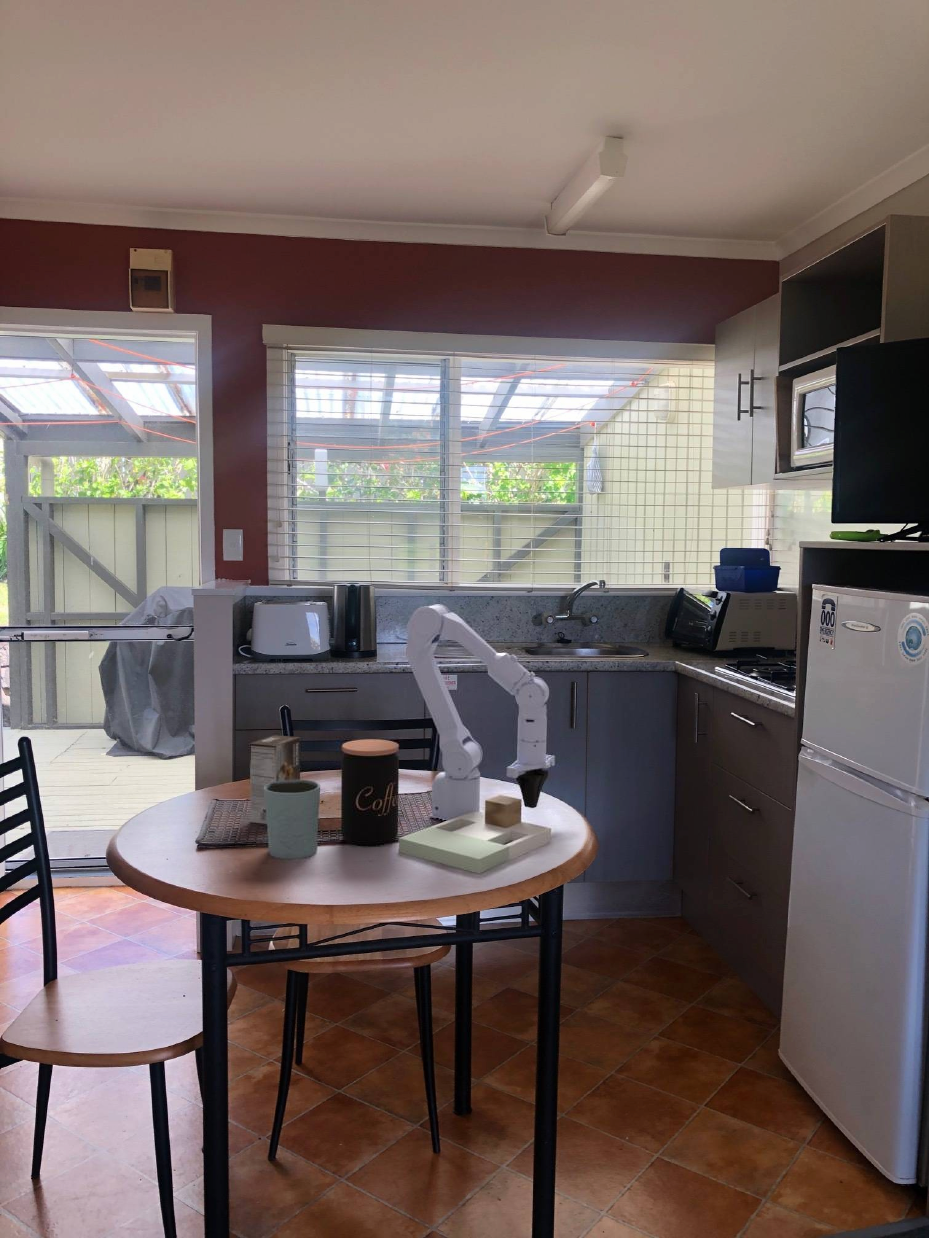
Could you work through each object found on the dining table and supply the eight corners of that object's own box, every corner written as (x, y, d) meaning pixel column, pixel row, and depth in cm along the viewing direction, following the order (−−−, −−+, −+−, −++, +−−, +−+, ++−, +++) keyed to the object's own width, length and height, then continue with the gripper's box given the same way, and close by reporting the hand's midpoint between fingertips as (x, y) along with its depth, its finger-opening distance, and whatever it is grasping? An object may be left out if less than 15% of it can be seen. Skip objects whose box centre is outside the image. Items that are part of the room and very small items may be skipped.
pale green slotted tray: (398, 851, 169) (398, 838, 169) (474, 823, 187) (474, 810, 187) (478, 873, 158) (479, 859, 158) (551, 841, 177) (551, 828, 176)
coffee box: (274, 810, 194) (274, 734, 193) (301, 813, 192) (301, 736, 191) (249, 822, 186) (249, 742, 185) (277, 826, 184) (277, 745, 182)
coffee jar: (353, 851, 169) (353, 753, 168) (333, 834, 178) (333, 741, 177) (407, 843, 174) (408, 748, 173) (385, 828, 183) (385, 737, 182)
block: (484, 823, 179) (485, 800, 179) (499, 817, 183) (500, 794, 183) (506, 828, 176) (506, 804, 176) (521, 822, 180) (521, 799, 180)
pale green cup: (302, 863, 162) (302, 795, 161) (252, 855, 166) (252, 789, 165) (330, 846, 172) (330, 781, 171) (282, 839, 175) (282, 776, 174)
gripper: (528, 748, 178) (527, 818, 179) (568, 736, 189) (566, 802, 190) (498, 743, 182) (497, 811, 183) (538, 732, 194) (537, 796, 195)
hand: (530, 806), depth 187 cm, fingers closed
